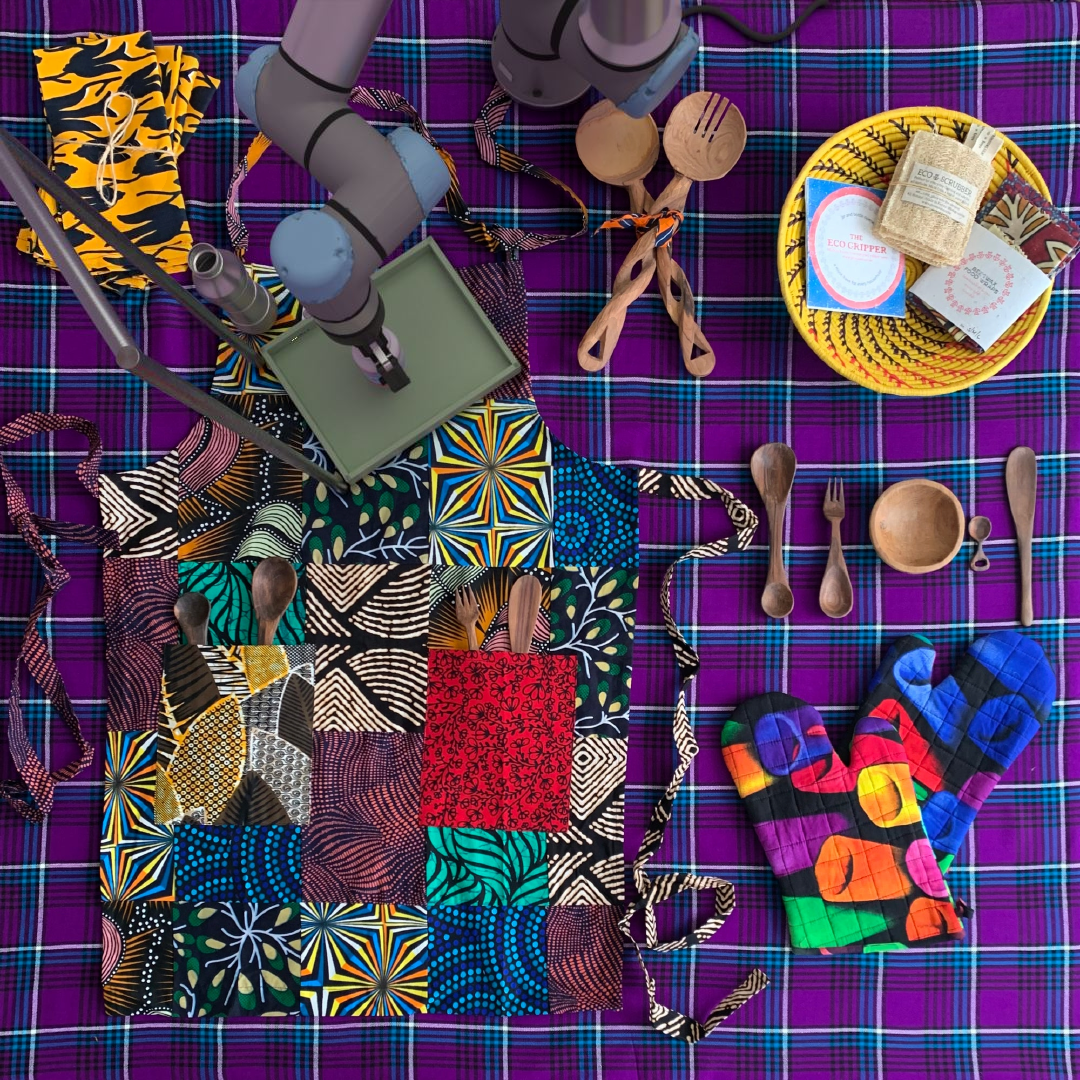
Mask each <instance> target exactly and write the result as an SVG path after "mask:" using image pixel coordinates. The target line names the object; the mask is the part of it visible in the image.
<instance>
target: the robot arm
mask: <svg viewBox="0 0 1080 1080" xmlns="http://www.w3.org/2000/svg"><path fill="white" fill-rule="evenodd" d="M393 1H394V0H297V1H296V3H295V6H294V9H293V11H292V13H291V16H290V18H289V20H288V21H289V22H288V24H287V26H286V28H285V31H284V34H283V36H282V39H281V41H280V43H279V45H276V44H266V45H262V46H261V47H258V48H256V49H254V50H253V51H252V52H251V53H250V54H249V55H248V57H247V62H246V63H245V64H242V65H240V67H239V69H238V71H237V74H236V76H235V80H234V87H233V88H234V89H233V93H234V99H235V103H236V105H237V107H238V109H239V110H240V111H241V112H242V114H244V115H245V117H246V118H247V119H248V120H249V121H250V122H251V123H252V124H253V125H254V126H255V127H256V128H257V129H258V130H259V132H260V133H261V134H262V136H264V137H265V139H267V140H268V141H271V142H273V143H274V144H275V145H276V146H278V147H279V148H280V149H281V150H282V151H284V153H286V154H287V155H288V156H289V157H290V158H291V159H292V160H294V161H295V162H296V163H298V165H300V166H301V167H302V168H303V169H304V170H306V172H307V173H308V174H309V175H310V176H311V177H312V178H314V179H315V180H316V181H317V183H319V184H320V185H321V186H323V188H325V190H326V191H328V192H329V193H330V194H331V195H332V196H331V198H329V199H328V200H327V201H325V203H324V204H323V206H322V207H321V208H320V209H319V210H318V209H317V210H316V209H304V210H303V209H302V210H301V211H298V212H295V213H292V214H290V215H288V216H286V217H285V218H284V219H283V220H282V221H280V222H279V224H278V225H277V226H276V227H275V230H274V232H273V234H272V236H271V238H270V245H269V254H270V261H271V264H272V266H273V268H274V271H275V273H276V274H277V275H278V276H277V277H279V279H280V282H281V283H282V285H283V287H284V288H285V289H286V290H287V291H289V293H290V294H291V296H293V297H294V299H296V300H297V302H298V303H299V304H300V306H302V308H303V309H304V310H303V311H302V312H301V314H302V316H303V319H305V318H306V319H310V318H311V317H312V318H313V319H314V320H315V321H316V323H317V324H318V326H319V327H320V328H321V329H322V330H323V332H324V333H325V334H326V335H327V336H328V337H329V338H330V339H331V340H333V341H335V342H336V343H339V344H342V345H346V346H354V347H355V348H358V349H359V350H360V352H361V353H362V355H363V356H364V357H365V358H368V357H370V359H371V360H372V361H373V363H374V365H375V367H376V369H377V372H378V373H380V374H381V376H382V377H380V378H379V379H378V380H379V381H380V383H381V384H382V386H384V385H386V384H388V385H389V387H390V389H391V391H392V392H394V393H396V392H398V391H399V390H401V389H402V388H404V387H405V386H407V385H408V384H410V383H411V381H410V378H409V377H407V375H406V373H405V372H404V370H403V368H402V367H401V366H400V364H399V363H398V359H397V358H396V357H395V356H393V354H392V353H391V352H390V351H389V349H388V348H387V344H388V340H387V338H386V337H385V335H384V334H383V332H382V330H383V328H382V325H383V322H384V318H385V307H384V303H383V300H382V298H381V296H380V294H379V292H378V290H377V289H376V287H375V284H374V282H373V280H372V279H371V277H370V276H371V275H372V274H373V273H375V272H376V271H377V270H378V269H379V268H380V267H381V265H383V262H384V261H385V260H386V259H387V258H388V257H389V256H390V255H391V254H392V253H393V252H394V251H395V250H397V248H398V247H399V246H401V244H402V243H403V242H404V241H405V240H406V239H407V238H408V237H409V236H410V235H411V233H413V232H414V230H415V229H417V227H418V226H419V225H420V224H421V223H422V222H424V220H425V219H427V218H428V217H429V214H430V213H431V212H432V210H433V209H434V208H435V207H436V206H437V205H438V203H440V201H441V199H442V198H443V197H444V196H445V195H446V194H447V192H448V191H449V189H450V187H451V184H452V177H451V175H450V169H449V167H448V166H447V164H446V162H445V161H444V159H443V157H442V156H441V155H440V153H438V151H437V150H436V149H435V147H434V146H432V144H431V143H430V142H429V141H428V140H427V139H426V138H425V137H423V135H421V134H420V133H419V132H418V131H414V130H413V129H412V128H410V127H408V126H398V127H397V128H396V129H394V130H393V131H392V132H388V134H387V135H386V136H384V135H383V134H382V133H380V132H379V131H378V130H377V129H376V128H375V127H374V126H372V125H371V124H370V123H369V122H368V121H367V120H366V119H364V118H363V117H362V115H360V114H359V113H358V112H357V111H356V110H354V109H353V108H352V107H351V106H350V105H349V104H348V101H349V99H350V97H351V95H352V92H353V90H354V88H355V86H356V82H357V81H358V78H359V76H360V74H361V72H362V70H363V67H364V65H365V62H366V61H367V59H368V57H369V54H370V52H371V49H372V47H373V45H374V43H375V41H376V39H377V36H378V34H379V32H380V29H381V28H382V25H383V23H384V21H385V19H386V16H387V15H388V13H389V10H390V8H391V6H392V3H393ZM829 4H830V1H829V0H814V1H813V2H812V3H810V4H809V5H808V6H807V7H806V8H805V9H804V11H802V13H801V14H800V15H799V16H798V17H797V18H796V19H795V20H794V21H793V22H792V24H790V25H789V26H788V27H786V28H785V29H783V30H782V31H780V32H777V33H771V34H770V33H769V34H767V33H761V32H757V31H755V30H753V29H751V28H750V27H748V26H746V25H745V24H744V23H743V22H741V21H740V20H739V19H737V18H736V17H735V16H733V15H732V14H730V13H729V12H728V11H726V10H724V9H722V8H719V7H717V6H713V5H707V4H698V5H692V6H689V7H687V8H683V7H682V1H681V0H498V5H499V12H500V19H499V22H498V24H497V26H496V29H495V31H494V34H493V37H492V41H491V42H492V43H491V49H490V60H491V66H492V67H491V68H492V73H493V75H494V78H495V80H496V82H497V84H498V86H499V87H500V89H501V90H502V91H503V92H504V94H505V95H506V96H507V97H509V99H510V100H512V101H514V102H515V103H517V104H519V105H520V106H522V107H525V108H528V109H531V110H535V111H542V112H549V111H557V110H562V109H565V108H567V107H570V106H572V105H574V104H575V103H578V102H580V100H582V99H583V98H584V97H585V96H586V95H587V94H588V93H589V92H590V91H591V89H592V88H594V89H596V90H597V91H598V92H599V93H600V94H602V95H603V96H604V97H605V99H607V100H609V101H610V102H611V103H612V104H613V105H614V108H616V110H619V111H620V110H621V112H623V113H625V115H627V116H629V117H630V118H631V119H633V120H640V119H643V118H646V117H647V116H649V114H651V113H652V112H653V111H654V110H655V109H656V108H657V107H659V105H660V104H661V103H662V102H663V101H664V100H665V99H666V97H667V96H668V95H669V94H670V93H671V91H672V90H673V89H674V88H675V86H676V85H677V84H678V83H679V81H680V80H681V78H682V77H683V75H685V73H686V72H687V70H688V69H689V67H690V66H691V64H692V63H693V61H694V59H695V57H696V55H697V54H698V51H699V49H700V47H701V46H700V45H701V38H700V36H699V34H698V33H696V32H695V30H694V28H693V27H692V26H691V25H689V26H688V25H686V23H684V22H683V21H682V19H684V18H686V17H688V16H690V15H694V14H701V13H702V14H710V15H715V16H716V17H719V18H721V19H723V20H724V21H726V22H727V23H729V24H730V25H731V26H733V27H734V28H735V29H736V30H737V31H739V32H740V33H741V34H743V35H745V36H747V37H748V38H749V39H752V40H754V41H757V42H763V43H773V42H778V41H781V40H783V39H785V38H787V37H789V36H790V35H791V34H792V33H794V32H795V31H796V30H797V29H798V28H800V26H801V25H802V24H803V23H804V22H805V21H806V19H808V17H810V15H811V14H812V13H813V12H814V11H815V10H816V9H817V8H819V7H827V6H828V5H829ZM504 89H505V90H506V91H505V90H504Z"/></svg>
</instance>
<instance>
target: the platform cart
mask: <svg viewBox="0 0 1080 1080" xmlns="http://www.w3.org/2000/svg"><path fill="white" fill-rule="evenodd" d="M0 181H1V183H2V184H3V185H4V187H5V189H6V190H7V192H8V193H9V195H10V196H11V198H12V199H13V201H14V203H15V205H16V206H17V207H18V209H19V210H20V212H21V213H22V215H23V217H25V219H26V221H27V222H28V224H29V226H30V228H32V230H33V232H34V234H35V235H36V236H37V238H38V240H39V241H40V243H41V244H42V246H43V247H44V249H45V250H46V252H47V254H48V255H49V256H50V258H51V259H52V261H53V262H54V264H55V266H56V268H57V269H58V270H59V272H60V274H61V275H62V277H63V278H64V279H65V281H66V282H67V285H68V286H69V287H70V289H71V291H72V292H73V293H74V296H76V298H77V299H78V301H79V303H80V304H81V306H82V307H83V309H84V310H85V312H86V313H87V315H88V316H89V319H91V321H92V323H93V324H94V326H95V327H96V329H97V331H98V332H99V333H100V334H101V336H102V338H103V340H104V341H105V342H106V344H107V346H108V347H109V349H110V351H111V352H112V354H113V355H114V357H115V361H116V364H117V366H119V367H120V368H121V369H123V370H124V371H126V372H128V373H130V374H132V375H134V376H135V377H137V378H139V379H141V380H142V381H143V382H145V383H147V384H149V385H151V386H152V387H154V388H156V389H158V390H159V391H161V392H163V393H164V394H166V395H167V396H169V397H171V398H173V399H175V400H177V401H179V402H180V403H182V404H183V405H186V406H187V407H188V408H191V409H192V410H194V411H196V412H197V413H199V414H201V415H202V416H205V417H206V418H208V419H210V420H212V421H214V423H217V424H219V425H220V426H222V427H224V428H225V429H227V430H228V431H231V432H232V433H234V434H236V435H238V436H240V437H241V438H243V439H244V440H247V442H250V443H252V444H254V445H255V446H257V447H258V448H260V449H262V450H264V451H265V452H268V453H269V454H271V455H272V456H274V457H275V458H278V459H280V460H281V461H282V462H285V463H287V464H288V465H290V466H291V467H293V468H295V469H296V470H299V471H300V472H302V473H304V474H306V475H307V476H309V477H311V478H312V479H314V480H316V481H318V482H320V483H321V484H323V485H325V486H326V487H328V488H330V489H332V490H333V491H335V492H337V493H338V494H342V495H343V494H346V493H347V492H348V490H349V486H348V484H349V485H350V486H353V485H354V484H355V483H357V482H359V481H360V480H362V479H363V478H364V477H366V476H367V475H370V474H371V473H372V472H373V471H375V470H377V469H378V468H380V467H381V466H382V465H384V464H385V463H387V462H389V461H390V460H391V459H393V458H394V457H395V456H397V455H399V454H401V453H402V452H404V451H405V450H406V449H408V448H409V447H411V446H412V445H414V444H415V443H417V442H419V441H420V440H421V439H423V438H425V437H426V436H428V435H429V434H431V433H432V432H433V431H434V430H436V429H438V428H439V427H441V426H443V425H444V424H446V423H447V422H448V421H450V420H452V419H453V418H454V417H456V416H457V415H459V414H460V413H462V412H463V411H465V410H466V409H468V408H469V407H471V406H472V405H474V404H476V403H477V402H478V401H479V400H482V399H483V398H484V397H486V396H487V395H490V393H492V392H493V391H495V390H496V389H498V388H499V387H501V386H502V385H503V384H505V383H507V382H509V381H510V380H511V379H513V378H514V377H515V376H517V375H518V374H520V373H522V365H521V363H520V362H519V361H518V359H517V358H516V356H515V355H514V354H513V353H512V351H511V349H510V348H509V346H508V345H507V343H506V342H505V340H504V339H503V338H502V336H501V335H500V334H499V332H498V331H497V329H496V328H495V326H494V325H493V323H492V322H491V320H490V319H489V318H488V316H487V315H486V313H485V311H484V310H483V309H482V307H481V306H480V304H479V303H478V302H477V300H476V299H475V297H474V296H473V294H472V292H471V291H470V290H469V289H468V287H467V286H466V284H465V283H464V282H463V280H462V278H461V277H460V276H459V274H458V272H457V271H456V270H455V268H454V267H453V266H452V264H451V263H450V261H449V260H448V258H447V256H446V255H445V254H444V253H443V251H442V250H441V248H440V247H439V245H438V244H437V243H436V241H435V240H434V238H433V236H432V235H429V236H428V237H426V238H425V239H423V240H421V241H420V242H418V243H417V244H416V245H414V246H412V247H411V248H410V249H408V250H406V251H405V252H404V253H402V254H400V255H399V256H397V257H396V258H395V259H393V260H391V261H389V262H388V263H387V264H385V265H383V266H382V267H381V268H378V269H377V270H376V271H375V272H374V273H373V274H372V275H371V276H370V277H371V279H372V280H373V282H374V284H375V287H376V289H377V290H378V292H379V294H380V296H381V298H382V300H383V303H384V307H385V318H384V322H383V325H382V326H383V327H386V328H388V329H389V330H390V331H392V332H393V333H394V335H395V336H396V338H397V340H398V342H399V344H400V346H401V348H402V350H403V352H404V354H405V356H406V359H407V369H406V375H407V377H409V378H410V381H411V383H410V384H408V385H407V386H405V387H404V388H402V389H401V390H399V391H398V392H396V393H394V392H392V391H391V389H390V387H379V386H376V385H374V384H372V383H371V382H370V381H369V380H368V379H367V378H366V377H365V375H364V374H363V372H362V371H361V369H360V368H359V366H358V365H357V363H356V362H355V360H354V358H353V355H352V346H346V345H342V344H339V343H336V342H335V341H333V340H331V339H330V338H329V337H328V336H327V335H326V334H325V333H324V332H323V330H322V329H321V328H320V327H319V326H318V324H317V323H316V321H315V320H314V319H313V318H312V317H311V318H310V319H306V318H303V319H302V320H300V321H299V322H297V323H296V324H294V325H293V326H291V327H290V328H289V329H287V330H285V331H284V332H282V333H281V334H279V335H278V336H276V337H275V338H273V339H272V340H270V341H269V342H267V343H266V344H264V345H262V346H261V347H260V348H258V351H259V352H260V353H258V352H257V351H256V350H255V349H254V348H252V346H250V345H249V344H248V343H247V342H245V341H244V339H243V338H241V337H240V336H239V335H238V334H237V333H235V331H233V330H232V329H231V328H230V327H229V326H227V324H225V322H223V321H222V320H221V319H220V318H219V317H218V316H217V315H216V314H214V312H212V311H211V310H210V309H208V308H207V307H206V305H204V304H203V303H202V302H201V301H199V299H197V297H195V296H194V295H193V294H192V293H191V292H190V291H188V290H187V289H186V288H185V287H184V286H183V285H182V284H180V283H179V282H178V281H177V280H176V279H175V278H174V277H173V276H171V275H170V274H169V273H168V272H167V271H166V270H164V269H163V268H162V267H161V266H160V265H159V264H157V262H155V261H154V260H153V259H152V258H151V257H150V256H149V255H148V254H147V253H145V251H144V250H142V249H141V248H140V247H138V245H136V244H135V243H134V242H133V241H132V240H131V239H130V238H129V237H127V236H126V235H125V234H124V233H123V232H122V231H120V230H119V228H117V227H116V226H115V225H114V224H113V223H112V222H110V221H109V220H108V219H107V218H106V217H105V216H103V215H102V213H101V212H99V211H98V210H97V209H96V208H95V207H94V206H93V205H91V204H90V203H89V202H88V200H86V199H84V198H83V197H82V196H81V195H80V194H79V193H78V192H76V190H74V189H73V188H72V187H71V186H70V185H69V184H67V183H66V181H64V180H63V179H62V178H61V177H60V176H58V174H56V173H55V172H54V171H53V170H52V169H51V168H50V167H49V166H47V164H45V163H44V162H43V161H41V159H40V158H38V157H37V156H36V155H35V154H34V153H33V152H32V151H31V150H30V149H28V148H27V147H26V146H25V145H24V144H22V143H21V141H20V140H18V139H17V138H16V137H15V136H13V134H11V132H9V131H8V130H6V128H5V127H4V126H2V125H1V124H0ZM33 183H34V184H36V185H37V186H38V187H39V188H40V189H41V190H43V191H44V192H45V193H46V194H47V195H49V196H50V197H51V198H52V199H53V200H55V201H56V202H57V203H58V204H60V206H62V207H63V208H64V209H65V210H67V212H69V213H70V214H72V216H74V217H75V218H76V219H78V220H79V221H80V222H81V223H82V224H83V225H85V226H86V227H87V228H88V229H89V230H90V231H92V232H93V233H94V234H95V235H96V236H98V237H99V238H100V239H102V241H104V242H105V243H106V244H107V245H109V247H111V248H112V249H113V250H114V251H116V252H117V253H118V254H120V256H121V257H123V258H124V259H125V260H127V261H128V262H129V263H130V264H131V265H133V266H134V267H135V268H136V269H137V270H138V271H139V272H141V273H142V274H143V275H145V277H147V278H148V279H149V280H150V281H151V282H153V283H154V284H155V285H156V286H157V287H158V288H160V289H161V290H162V291H164V292H165V293H166V294H167V295H168V296H169V297H171V299H173V300H174V301H176V302H177V303H178V304H179V305H180V306H182V307H183V308H184V309H185V310H186V311H187V312H189V313H190V315H192V316H193V317H194V318H196V319H197V320H198V321H200V322H201V323H202V324H203V325H204V326H205V327H207V328H208V329H209V330H210V331H211V332H213V333H214V334H215V335H216V336H217V337H219V339H221V340H222V341H224V342H225V343H226V344H227V345H228V346H229V347H231V348H232V349H233V350H234V351H236V353H238V354H239V355H240V356H241V357H242V358H244V359H245V360H246V361H247V362H249V363H250V364H251V365H252V366H253V367H255V368H256V369H261V368H263V367H265V364H266V363H267V365H268V366H269V368H270V369H271V370H272V372H273V374H274V375H275V377H276V378H277V380H278V381H279V382H280V384H281V385H282V387H283V389H284V390H285V391H286V394H288V396H289V398H290V399H291V401H292V403H293V404H294V405H295V407H296V408H297V410H298V412H299V413H300V414H301V416H302V417H303V418H304V420H305V422H306V423H307V425H308V426H309V428H310V429H311V431H312V432H313V434H314V435H315V437H316V438H317V441H318V442H319V443H320V444H321V446H322V447H323V449H324V451H325V452H326V453H327V455H328V456H329V458H330V459H331V461H332V462H333V464H334V465H335V467H336V468H337V471H339V473H340V474H341V476H342V478H343V479H344V480H345V481H344V480H342V479H341V478H339V477H337V476H336V475H335V474H333V473H331V472H330V471H328V470H327V469H325V468H323V467H322V466H320V465H318V464H317V463H316V462H314V461H312V460H311V459H310V458H308V457H306V456H305V455H303V454H302V453H300V452H299V451H297V450H295V449H294V448H292V447H291V446H289V445H288V444H286V443H285V442H283V441H281V440H280V439H278V438H277V437H275V436H274V435H272V434H271V433H269V432H267V431H265V430H264V429H263V428H261V427H260V426H258V425H256V424H255V423H253V422H252V421H250V420H248V418H247V419H246V417H243V416H242V415H241V414H239V413H238V412H236V411H235V410H233V409H231V408H230V407H228V406H227V405H225V404H223V403H222V402H221V401H219V400H217V399H216V398H214V397H213V396H211V395H209V394H208V393H206V392H204V391H203V390H202V389H200V388H198V387H197V386H196V385H194V384H193V383H190V382H189V381H188V380H186V379H184V378H183V377H181V376H180V375H178V374H177V373H175V372H174V371H172V370H170V369H169V368H167V367H166V366H164V365H162V364H161V363H160V362H158V361H157V360H155V359H153V358H152V357H150V356H148V355H147V354H145V353H144V352H143V351H142V350H141V348H140V347H139V346H138V344H137V342H136V341H135V339H134V337H133V336H132V334H131V333H130V332H129V330H128V328H127V326H126V325H125V324H124V322H123V321H122V319H121V318H120V316H119V315H118V313H117V312H116V310H115V309H114V307H113V306H112V304H111V302H110V301H109V299H108V298H107V296H106V295H105V293H104V291H103V290H102V288H101V287H100V286H99V284H98V282H97V281H96V279H95V278H94V276H93V275H92V273H91V271H90V270H89V269H88V267H87V265H86V264H85V262H84V261H83V259H82V258H81V256H80V255H79V253H78V252H77V251H76V249H75V247H74V246H73V244H72V243H71V241H70V240H69V238H68V237H67V235H66V234H65V232H64V230H63V229H62V228H61V226H60V224H59V223H58V221H57V220H56V218H55V216H54V215H53V214H52V212H51V210H50V209H49V208H48V206H47V204H46V203H45V201H44V199H43V198H42V197H41V195H40V193H39V192H38V190H37V189H36V188H35V186H34V185H33ZM316 324H317V325H316ZM308 329H309V330H308ZM307 330H308V331H307ZM304 332H305V333H304ZM302 333H303V334H302ZM300 334H302V335H300ZM299 335H300V336H299ZM298 336H299V337H298ZM296 337H297V338H296ZM295 338H296V339H295ZM293 339H294V340H293ZM292 340H293V341H292ZM260 354H261V355H260Z"/></svg>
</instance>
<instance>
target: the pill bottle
mask: <svg viewBox="0 0 1080 1080" xmlns="http://www.w3.org/2000/svg"><path fill="white" fill-rule="evenodd" d="M382 328H383V330H382V332H383V334H384V335H385V337H386V338H387V340H388V344H387V348H388V349H389V351H390V352H391V353H392V354H393V356H395V357H396V358H397V359H398V363H399V364H400V366H401V367H402V368H403V370H404V372H405V373H406V369H407V359H406V356H405V354H404V352H403V350H402V348H401V346H400V344H399V342H398V340H397V338H396V336H395V335H394V333H393V332H392V331H390V330H389V329H388V328H386V327H383V326H382ZM352 355H353V358H354V360H355V362H356V363H357V365H358V366H359V368H360V369H361V371H362V372H363V374H364V375H365V377H366V378H367V379H368V380H369V381H370V382H371V383H372V384H374V385H376V386H379V387H389V385H388V384H386V385H384V386H382V384H381V383H380V381H379V380H378V379H379V378H380V377H382V376H381V374H380V373H378V372H377V369H376V367H375V365H374V363H373V361H372V360H371V359H370V357H368V358H365V357H364V356H363V355H362V353H361V352H360V350H359V349H358V348H355V347H354V346H352Z"/></svg>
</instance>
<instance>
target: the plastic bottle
mask: <svg viewBox="0 0 1080 1080" xmlns="http://www.w3.org/2000/svg"><path fill="white" fill-rule="evenodd" d="M186 261H187V265H188V268H189V269H190V270H191V271H192V272H191V273H192V275H191V276H192V281H193V285H194V288H195V290H196V292H197V293H198V294H199V295H200V296H201V297H202V298H203V299H204V300H206V301H207V302H209V303H212V304H213V305H215V306H218V307H219V308H220V309H222V310H223V311H224V312H225V313H226V315H227V317H228V318H229V320H230V322H231V323H232V325H233V326H234V327H235V328H236V329H237V330H239V331H241V332H243V333H245V334H249V335H261V334H264V333H266V332H267V331H269V330H271V328H272V327H274V324H275V323H276V321H277V319H278V315H279V314H278V313H279V309H278V304H277V302H276V301H277V300H276V299H275V296H274V295H273V293H272V291H270V290H269V289H268V288H267V287H266V286H263V285H262V284H260V283H257V281H255V280H254V279H253V278H252V277H251V276H250V274H249V272H248V270H247V268H246V266H245V265H244V263H243V261H242V260H241V259H240V257H239V256H238V255H236V254H235V252H233V251H230V250H227V249H224V248H215V247H214V246H213V245H212V244H210V243H207V242H199V243H196V244H195V245H193V246H192V247H191V248H190V249H189V251H188V253H187V256H186Z"/></svg>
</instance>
